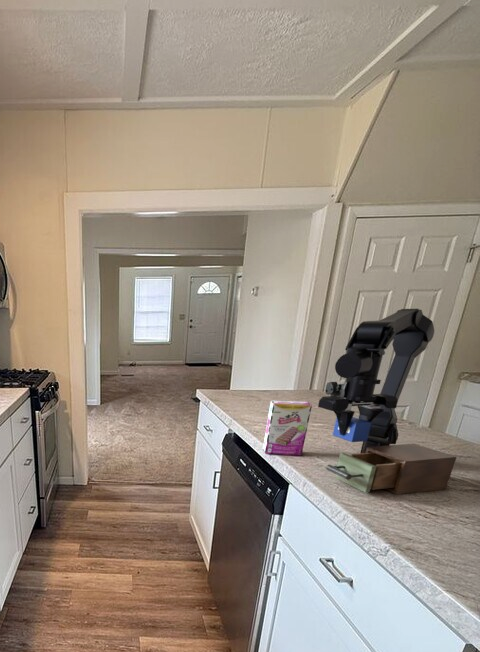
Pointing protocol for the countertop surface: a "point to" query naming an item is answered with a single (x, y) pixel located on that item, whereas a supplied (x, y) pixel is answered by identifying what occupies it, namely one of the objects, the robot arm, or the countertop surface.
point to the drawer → (366, 471)
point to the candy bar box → (286, 427)
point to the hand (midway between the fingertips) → (350, 434)
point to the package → (354, 430)
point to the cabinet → (417, 467)
